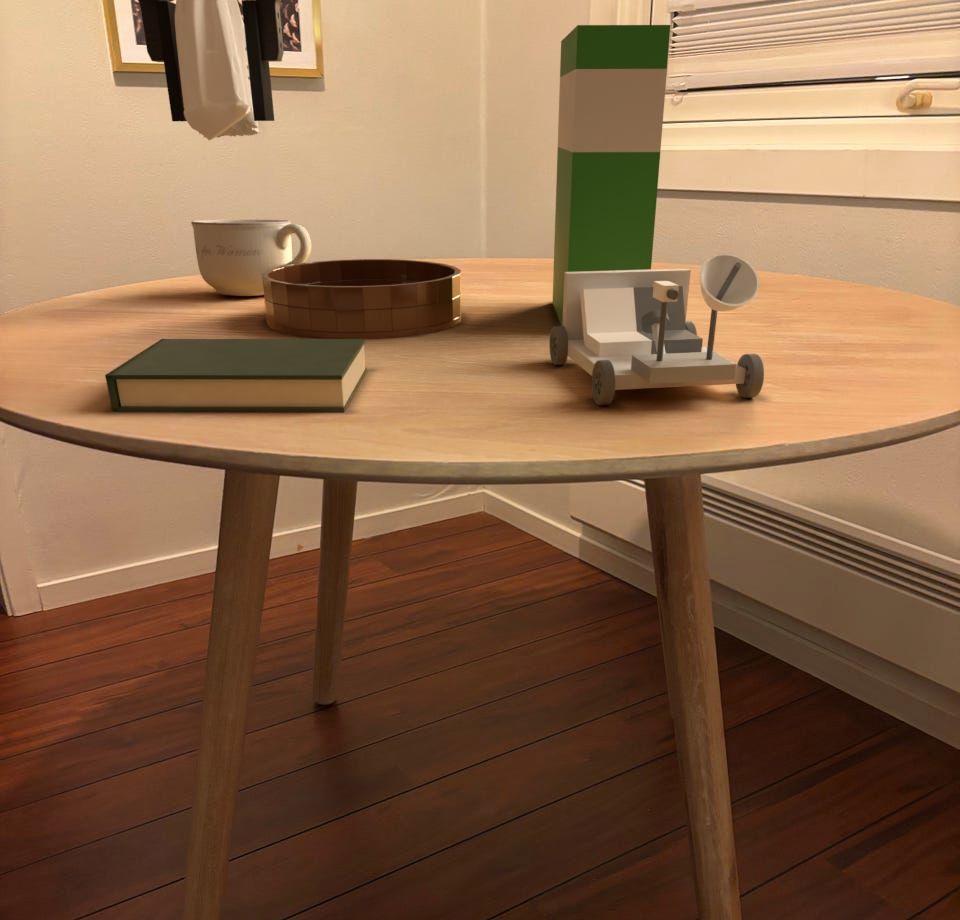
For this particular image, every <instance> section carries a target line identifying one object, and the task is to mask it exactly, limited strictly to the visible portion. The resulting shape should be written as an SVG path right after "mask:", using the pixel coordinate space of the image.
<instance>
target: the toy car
mask: <svg viewBox="0 0 960 920" xmlns="http://www.w3.org/2000/svg"><path fill="white" fill-rule="evenodd" d="M690 280H691V269H688V268H658V269H657V268H656V269H655V268H654V269H652V268H651V270H616V271H581V272H564V297H563V323H562V326H561V325H554V326H552V328H551V330H550V332H549V333H550V334H549V344H548V345H549V347H548V348H549V356H550V360H551V363H552V364H553V365H554V366H563V365H565V364H566V363H567V361H568V358H570V359H571V360H572V361H573V362H574V363H575V364H577V365H578V366H579V367H580V368H581V369H583V370H584V371H585V372H586V373H587V374H589V375H590V376H591V393H592V397H593V400H594V402H595V404H596V406H608V405H611V404H612V403H613V401H614V397H615V393H616V391H617V390H618V391H619V390H620V391H621V390H640V389H642V390H643V389H661V388H679V387H680V388H681V387H699V386H722V385H735V387H736V391H737V393H738V395H739V396H740V397H741V398H743V399H749V398H751V399H752V398H757V396H758V395H759V394H760V393H761V391H762V389H763V385H764V381H765V369H764V368H765V367H764V363H763V359H762V358H761V356H760V355H759V354H757V353H745V354H743V355H741V356H740V358H739V359H738V361H737V363H736V362H733V361H732V360H730V359H728V358H726V357H724V356H722V355H721V354H719V353H717V352H715V351H714V347H715V346H714V345H715V338H716V337H715V336H716V327H717V320H718V312H729V311H733V310H736V309H738V308H740V307H743V306H744V305H745V306H746V304H749V303H751V302H752V301H753V300H754V299H755V298H756V296H757V295H758V293H759V290H760V278H759V275H758V272H757V271H756V269H755V268H754V266H753V265H752V264H751V263H750V262H749V261H747V259H745V258H743V257H741V256H739V255H736V254H734V253H726V252H721V253H716V254H713V255H711V256H709V257H708V258H707V259H705V261H703V263H702V264H701V266H700V270H699V285H700V292H701V295H702V298H703V300H704V302H705V305H707V307H709V308H710V309H711V311H710V318H709V319H710V321H709V329H708V338H707V339H708V340H707V345H706V346H707V347H706V346H704V345H703V342H704V341H703V340H704V338H703V337H700V336H699V335H698V331H697V327H696V324H695V323H694V322H693V321H691V320H690V321H689V320H687V310H688V302H689V291H690V283H691V281H690Z"/></svg>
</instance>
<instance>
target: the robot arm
mask: <svg viewBox="0 0 960 920" xmlns="http://www.w3.org/2000/svg"><path fill="white" fill-rule="evenodd" d="M137 1H138V4H139V6H140V11H141V18H142V26H143V33H144V39H145V40H144V41H145V46H146V47H145V48H146V53H147V54H148V56H149V58H150V60H151V62H156V63H163V66H164V73H165V81H166V86H167V94H168V95H167V96H168V101H169V108H170V115H171V121H172V122H187V121H186V119H185V116H184V110H185V109H184V104H183V95H182V86H181V78H180V68H179V59H178V50H177V41H176V30H175V7H176V2H171V1H170V0H137ZM281 2H282V0H241V9H242V20H243V23H244V29H245V38H246V48H247V57H248V67H249V76H250V86H251V95H252V104H253V114H254V121H258V122H275V111H274V103H273V101H274V100H273V89H272V80H271V72H270V71H271V70H270V62H272V63H273V62H276V63H277V62H282V61H283V56H284V52H285V51H284V42H283V40H284V39H283V29H282V17H281Z"/></svg>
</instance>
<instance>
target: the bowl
mask: <svg viewBox="0 0 960 920" xmlns="http://www.w3.org/2000/svg"><path fill="white" fill-rule="evenodd" d="M262 284H263V293H264V295H263V301H264V309H265V317H266V324H267V326H268V328H270V329H271V330H274V331H276V332H279V333H281V334H285V335H286V334H287V335H291V336H298V337H303V338H311V339H365V340H376V339H394V338H403V337H404V338H405V337H412V336H413V337H414V336H418V335H425V334H430V333H435V332H441V331H443V330H446V329H449V328H453V327H454V326H456V325H458V324H459V323H461V321H462V308H463V307H462V305H463V304H462V302H463V301H462V270H461V268H458V267H456V266H455V265H450V264H447V263H442V262H434V261H428V260H427V261H426V260H415V259H414V260H413V259H398V258H397V259H396V258H395V259H393V258H363V259H362V258H359V259H358V258H357V259H332V260H331V259H330V260H320V261H319V260H317V261H309V262H304V263H299V264H292V265H287V266H281V267H277V268H273V269H270V270H267V271H266V272H264V273H262Z"/></svg>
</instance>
